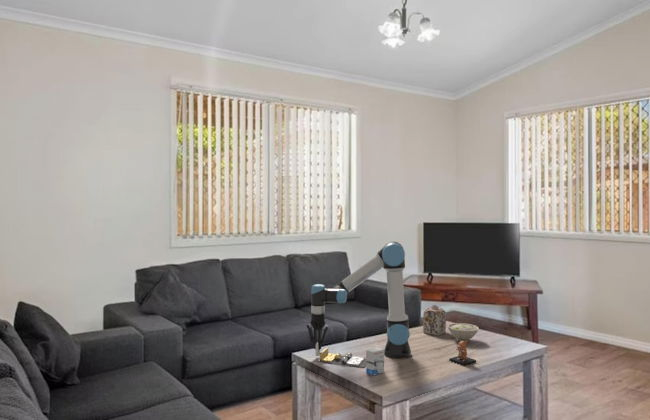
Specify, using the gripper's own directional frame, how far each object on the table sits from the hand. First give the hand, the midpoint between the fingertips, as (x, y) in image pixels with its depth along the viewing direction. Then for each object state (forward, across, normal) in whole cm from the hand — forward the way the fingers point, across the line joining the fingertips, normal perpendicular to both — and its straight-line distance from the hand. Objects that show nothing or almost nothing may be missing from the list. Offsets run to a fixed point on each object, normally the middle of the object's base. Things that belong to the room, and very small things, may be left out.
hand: (317, 355), depth 268 cm
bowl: (+2, -73, -64) cm, 97 cm away
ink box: (+2, -35, +11) cm, 37 cm away
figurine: (+2, -76, -23) cm, 79 cm away
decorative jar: (+2, -54, -77) cm, 94 cm away
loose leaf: (+1, -8, 0) cm, 8 cm away
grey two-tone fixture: (+2, -16, 0) cm, 16 cm away
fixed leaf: (+1, -20, 0) cm, 20 cm away
